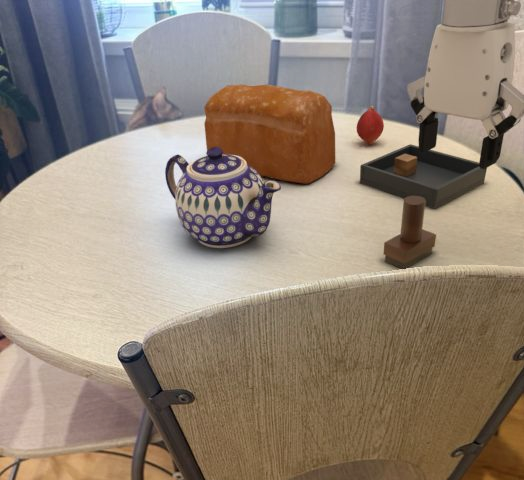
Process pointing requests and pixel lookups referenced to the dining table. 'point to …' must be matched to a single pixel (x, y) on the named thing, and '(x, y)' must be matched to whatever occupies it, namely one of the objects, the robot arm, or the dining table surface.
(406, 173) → the brown wooden cube
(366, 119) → the onion
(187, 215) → the teapot
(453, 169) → the tray
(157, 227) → the dining table surface
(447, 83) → the robot arm
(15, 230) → the dining table surface
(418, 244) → the wooden rubber stamp
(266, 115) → the bread
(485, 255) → the dining table surface
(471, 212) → the dining table surface
